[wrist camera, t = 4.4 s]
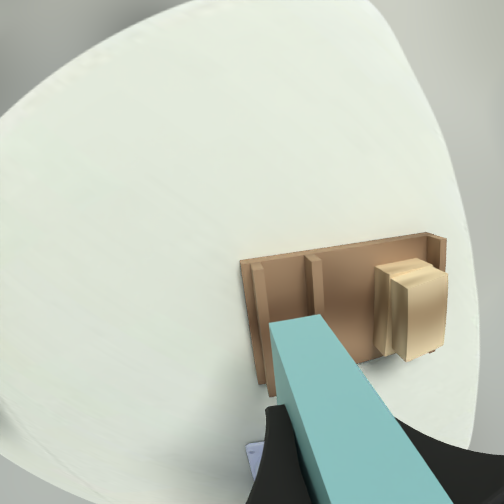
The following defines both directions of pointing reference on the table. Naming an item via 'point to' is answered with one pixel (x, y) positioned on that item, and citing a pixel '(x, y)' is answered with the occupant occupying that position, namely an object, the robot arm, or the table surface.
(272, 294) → the walnut rack
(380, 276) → the lower oak offcut
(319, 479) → the teal block
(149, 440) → the table surface
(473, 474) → the robot arm
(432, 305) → the upper oak offcut
